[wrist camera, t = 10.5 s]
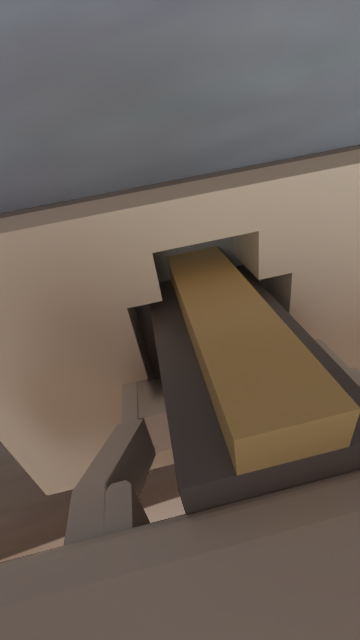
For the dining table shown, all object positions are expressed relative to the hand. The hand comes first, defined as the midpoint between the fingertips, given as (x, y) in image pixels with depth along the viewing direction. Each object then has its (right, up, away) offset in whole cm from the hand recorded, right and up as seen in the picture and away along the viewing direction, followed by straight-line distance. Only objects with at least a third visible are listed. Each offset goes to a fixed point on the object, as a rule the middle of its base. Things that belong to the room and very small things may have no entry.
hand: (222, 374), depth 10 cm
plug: (-1, +2, +3) cm, 3 cm away
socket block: (-1, +2, +4) cm, 4 cm away
